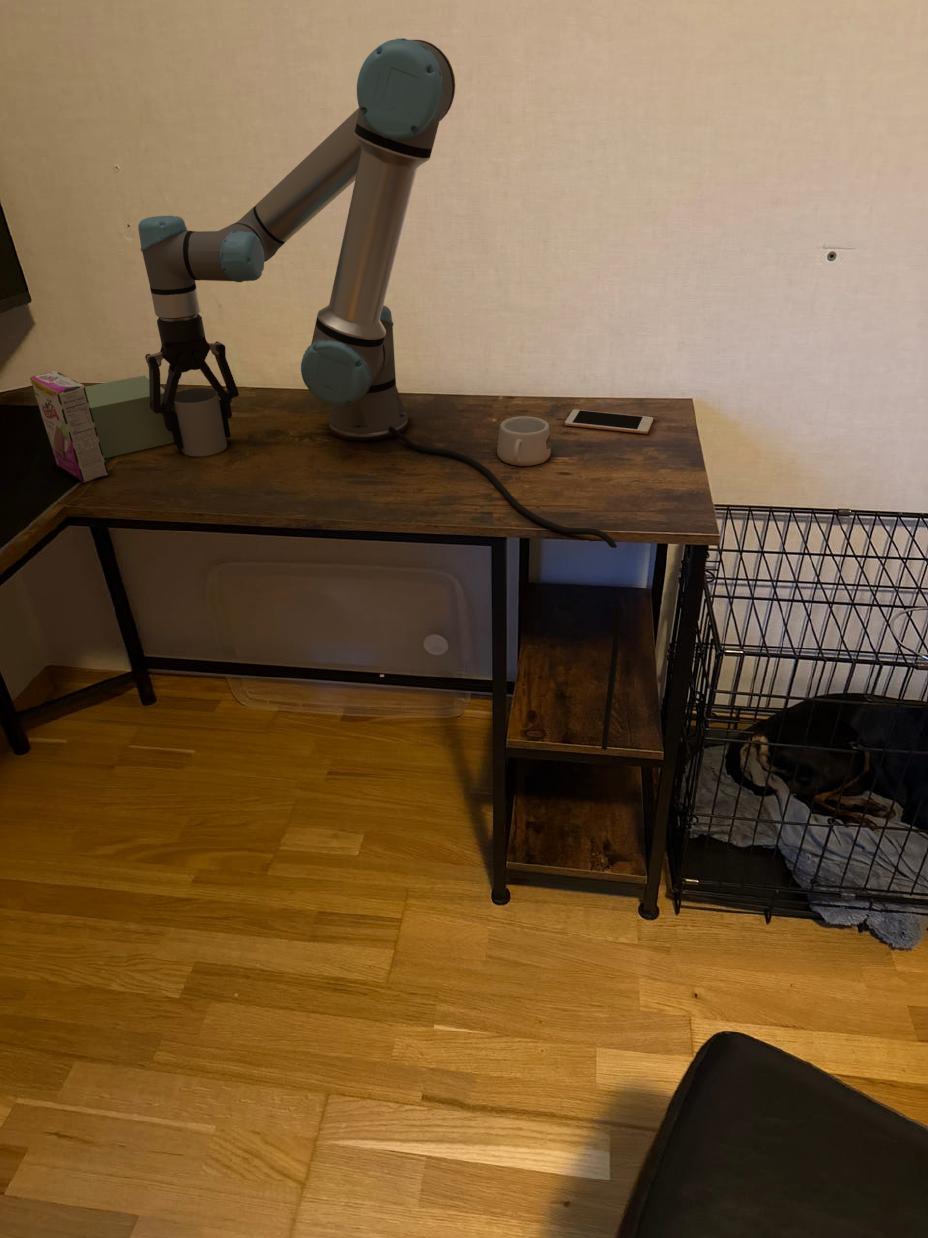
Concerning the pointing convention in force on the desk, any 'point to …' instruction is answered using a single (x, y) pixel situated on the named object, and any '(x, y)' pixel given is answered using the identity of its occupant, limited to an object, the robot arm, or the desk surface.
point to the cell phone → (609, 421)
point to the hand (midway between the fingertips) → (203, 440)
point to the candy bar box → (69, 425)
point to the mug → (524, 441)
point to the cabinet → (126, 417)
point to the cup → (200, 421)
